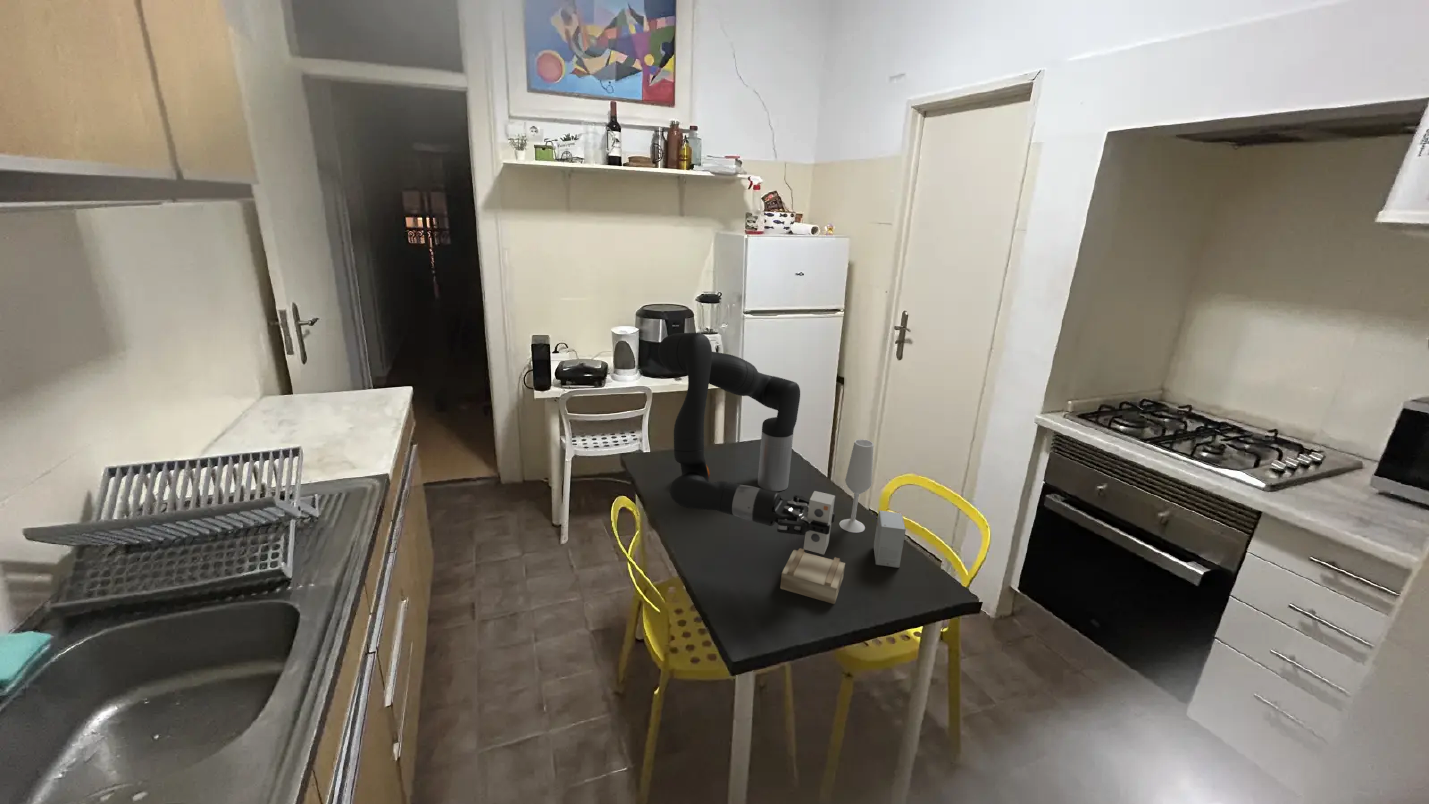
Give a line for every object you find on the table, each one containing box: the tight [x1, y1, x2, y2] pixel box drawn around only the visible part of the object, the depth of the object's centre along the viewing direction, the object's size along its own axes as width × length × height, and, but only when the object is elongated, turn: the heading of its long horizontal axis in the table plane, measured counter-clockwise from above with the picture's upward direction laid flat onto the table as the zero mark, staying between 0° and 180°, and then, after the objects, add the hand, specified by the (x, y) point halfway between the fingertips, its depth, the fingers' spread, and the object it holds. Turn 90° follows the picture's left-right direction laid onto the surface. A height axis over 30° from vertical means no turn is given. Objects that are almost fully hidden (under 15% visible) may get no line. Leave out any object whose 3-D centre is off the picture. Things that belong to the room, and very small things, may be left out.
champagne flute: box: [839, 438, 875, 534], centre depth 147 cm, size 7×7×24 cm
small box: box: [873, 510, 906, 568], centre depth 137 cm, size 8×6×10 cm
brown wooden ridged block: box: [780, 547, 846, 605], centre depth 126 cm, size 10×12×5 cm
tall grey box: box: [803, 490, 836, 556], centre depth 122 cm, size 5×4×12 cm
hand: (831, 523), depth 121 cm, fingers closed on tall grey box, 4 cm apart
